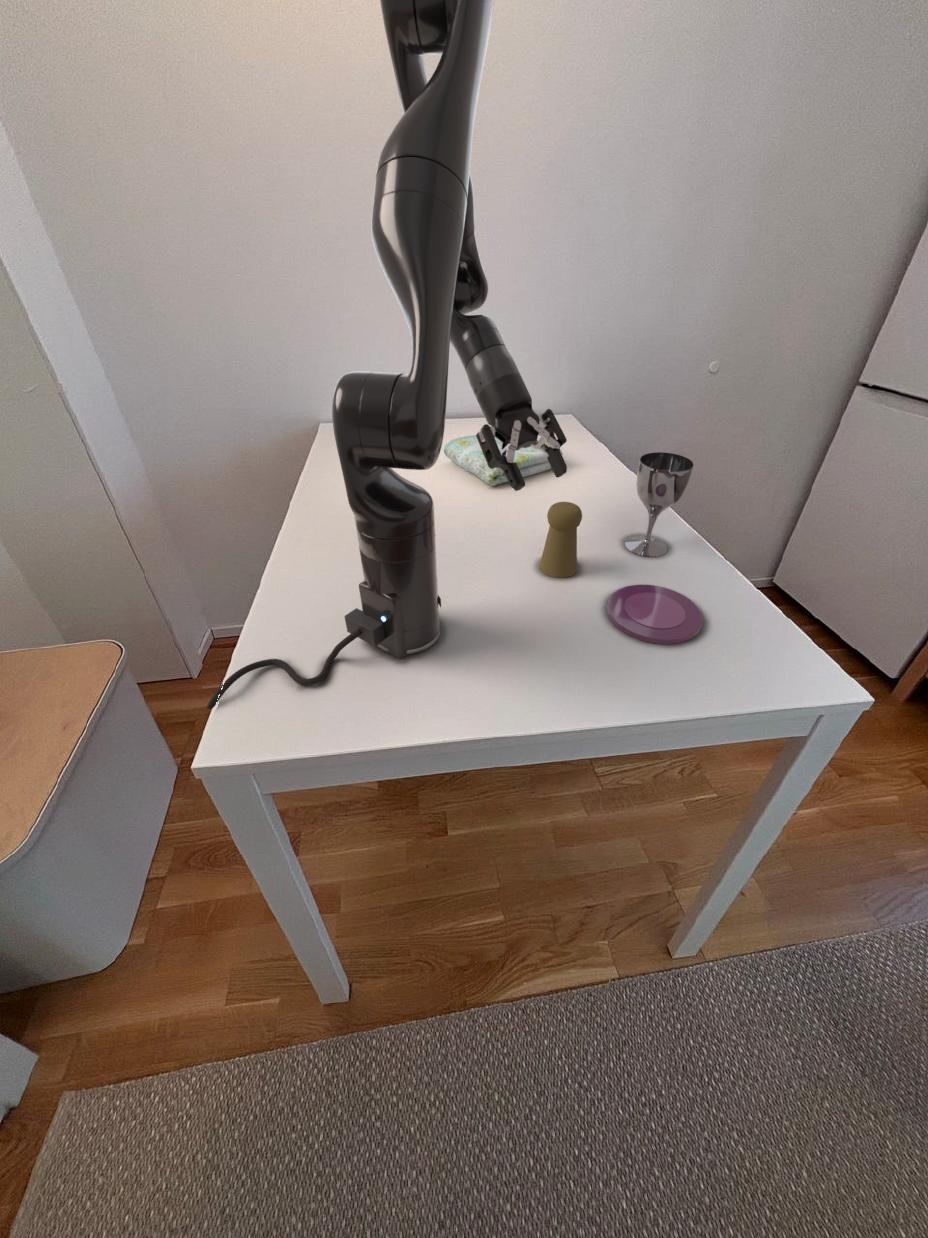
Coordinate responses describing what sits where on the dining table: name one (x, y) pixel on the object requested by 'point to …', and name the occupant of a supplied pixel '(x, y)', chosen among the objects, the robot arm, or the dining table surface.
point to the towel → (473, 460)
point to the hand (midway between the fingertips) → (542, 481)
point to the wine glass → (658, 495)
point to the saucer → (654, 614)
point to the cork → (561, 540)
